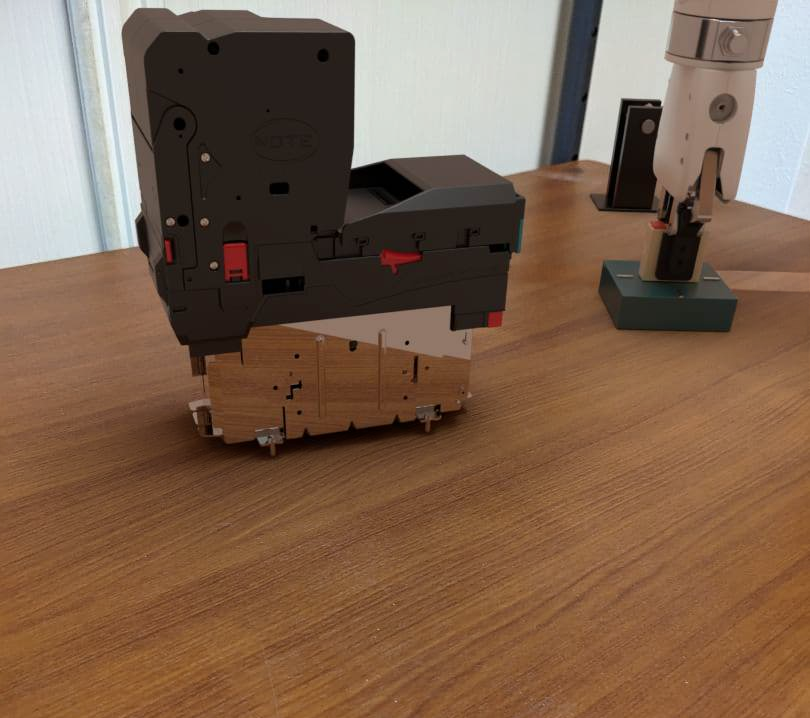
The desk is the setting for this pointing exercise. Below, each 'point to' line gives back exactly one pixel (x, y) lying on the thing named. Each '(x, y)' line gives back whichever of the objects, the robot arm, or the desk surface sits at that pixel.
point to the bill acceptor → (303, 232)
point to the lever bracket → (633, 159)
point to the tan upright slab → (653, 247)
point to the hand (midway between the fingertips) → (669, 272)
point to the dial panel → (666, 300)
